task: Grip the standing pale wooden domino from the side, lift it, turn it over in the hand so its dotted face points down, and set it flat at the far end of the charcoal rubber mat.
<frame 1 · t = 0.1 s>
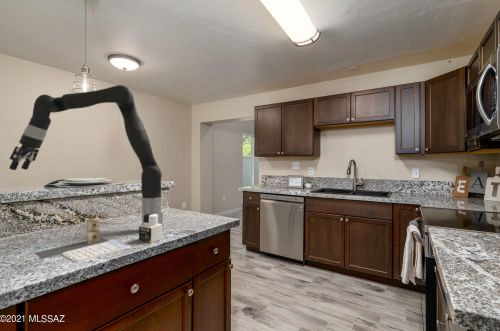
hand: (18, 169, 112), 31 cm above the countertop, tool tilted 20°, fingers open, 8 cm apart
medicine bottle: (150, 240, 112), on the countertop
mat: (75, 248, 101), on the countertop
domino: (93, 241, 107), point 1 cm above the countertop, touching mat
calculator: (97, 253, 97), on the countertop
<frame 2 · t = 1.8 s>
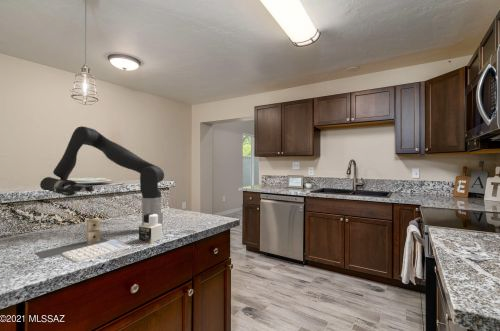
hand: (80, 190, 113), 22 cm above the countertop, tool horizontal, fingers open, 8 cm apart
nothing on the countertop moved.
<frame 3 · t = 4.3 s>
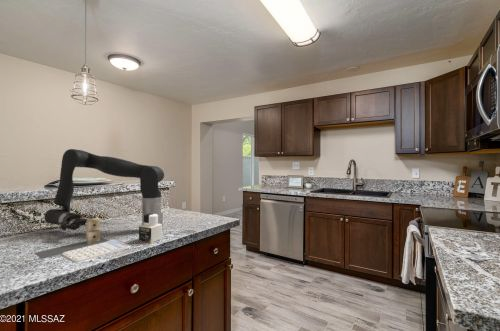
hand: (86, 225, 111), 7 cm above the countertop, tool horizontal, fingers open, 8 cm apart
nothing on the countertop moved.
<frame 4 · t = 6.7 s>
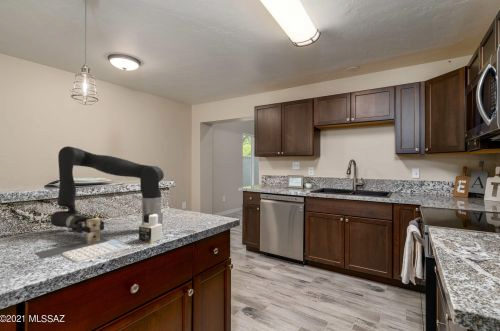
hand: (96, 229, 105), 7 cm above the countertop, tool horizontal, fingers closed on domino, 4 cm apart
domino: (93, 241, 107), point 1 cm above the countertop, touching gripper, mat
everything else where it was.
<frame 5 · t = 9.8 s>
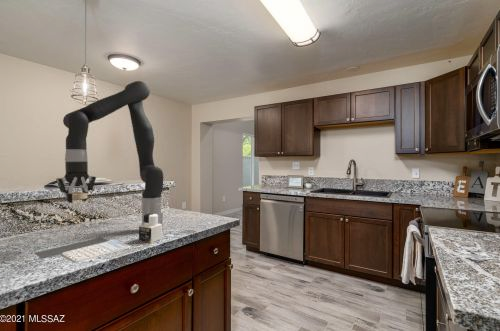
hand: (77, 201, 102), 19 cm above the countertop, tool pointing down, fingers closed on domino, 4 cm apart
domino: (71, 194, 106), point 21 cm above the countertop, tilted 90°, touching gripper
everything else where it was.
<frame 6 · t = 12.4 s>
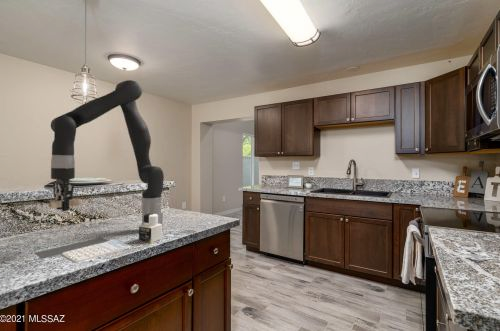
hand: (62, 209, 98), 16 cm above the countertop, tool pointing down, fingers closed on domino, 4 cm apart
domino: (80, 201, 103), point 19 cm above the countertop, tilted 90°, touching gripper
everything else where it was.
when the fingers open (1 cm above the countertop, at t = 14.8 s): domino drops 2 cm, resting on mat.
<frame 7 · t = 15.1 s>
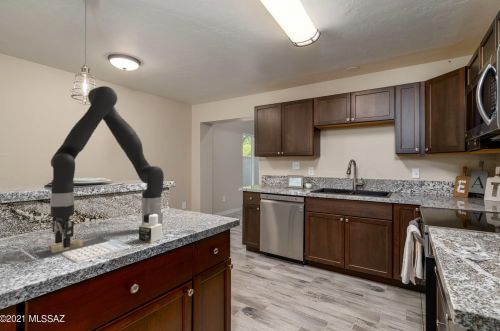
hand: (62, 245, 98), 2 cm above the countertop, tool pointing down, fingers open, 7 cm apart
domino: (80, 242, 103), point 2 cm above the countertop, tilted 90°, touching mat
everything else where it was.
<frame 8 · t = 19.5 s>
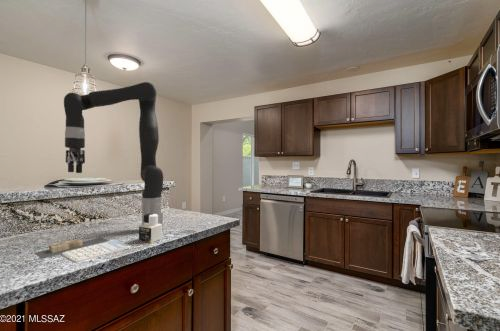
hand: (74, 172, 115), 30 cm above the countertop, tool pointing down, fingers open, 8 cm apart
nothing on the countertop moved.
at the end: domino tilted 90°; domino inside the target area (7.2 cm from its centre), point 1.7 cm above the countertop; the gripper is holding nothing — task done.
